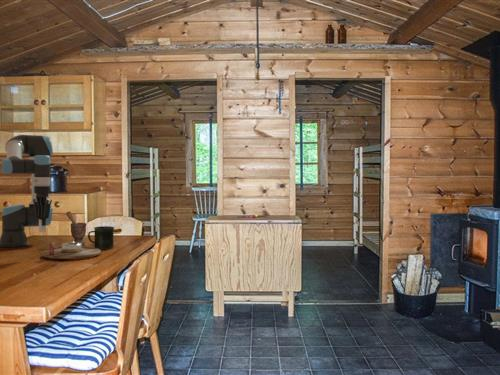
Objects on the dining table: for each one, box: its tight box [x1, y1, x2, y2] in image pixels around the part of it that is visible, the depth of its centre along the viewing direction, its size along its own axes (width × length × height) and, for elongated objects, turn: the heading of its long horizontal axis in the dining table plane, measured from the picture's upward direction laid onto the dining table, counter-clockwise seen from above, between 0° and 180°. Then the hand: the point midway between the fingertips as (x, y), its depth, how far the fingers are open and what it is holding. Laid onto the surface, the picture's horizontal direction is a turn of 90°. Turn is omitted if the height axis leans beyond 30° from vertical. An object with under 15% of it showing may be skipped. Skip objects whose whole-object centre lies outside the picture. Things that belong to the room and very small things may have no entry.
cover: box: [60, 241, 83, 253], centre depth 234 cm, size 10×10×5 cm
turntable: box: [42, 242, 102, 260], centre depth 233 cm, size 28×28×7 cm
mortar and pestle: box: [65, 211, 87, 247], centre depth 264 cm, size 12×9×20 cm
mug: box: [87, 225, 115, 250], centre depth 256 cm, size 11×15×12 cm
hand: (42, 232), depth 227 cm, fingers closed
